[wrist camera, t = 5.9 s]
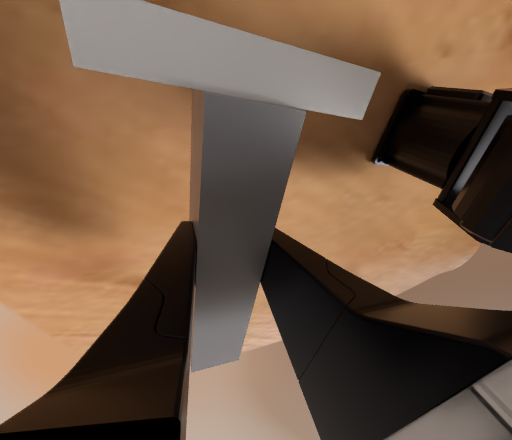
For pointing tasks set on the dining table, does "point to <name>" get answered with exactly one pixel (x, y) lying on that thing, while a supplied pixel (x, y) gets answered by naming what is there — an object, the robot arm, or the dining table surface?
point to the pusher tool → (222, 136)
